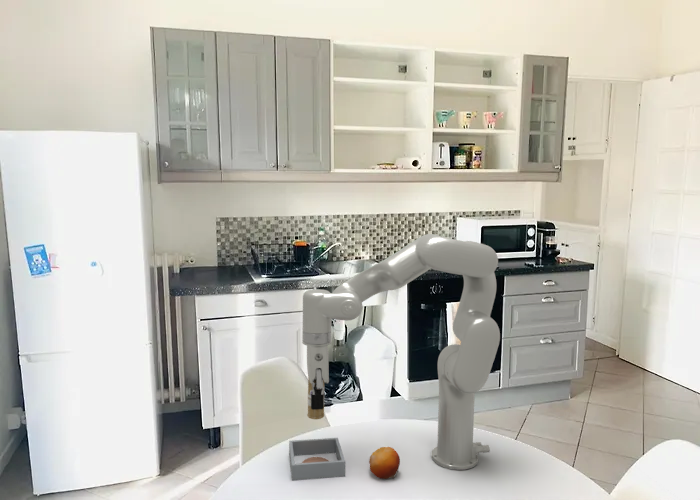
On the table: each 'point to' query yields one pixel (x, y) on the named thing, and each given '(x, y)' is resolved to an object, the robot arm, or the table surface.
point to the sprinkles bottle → (311, 413)
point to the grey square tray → (316, 459)
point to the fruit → (384, 463)
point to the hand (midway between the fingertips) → (316, 404)
